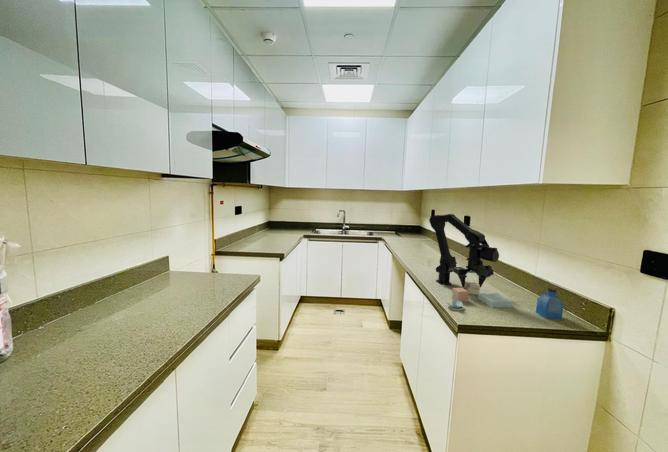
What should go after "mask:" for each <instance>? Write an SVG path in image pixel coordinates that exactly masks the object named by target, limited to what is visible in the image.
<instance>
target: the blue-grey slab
mask: <svg viewBox="0 0 668 452" xmlns="http://www.w3.org/2000/svg"><path fill="white" fill-rule="evenodd" d="M477 299H478V300H479V301H481V302H482V303H484V304H486V305H487V306H490V307H491V308H513V306H514V301H513V300H511V299H509V298H508V297H505V296H503V295H501V294H499V293H497V292H496V293H495V292H492V293H491V292H490V293H487V292H486V293H480V292H479V293H478V294H477Z"/></svg>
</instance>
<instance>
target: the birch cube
mask: <svg viewBox="0 0 668 452" xmlns="http://www.w3.org/2000/svg"><path fill="white" fill-rule="evenodd" d="M463 288H464V289H465V290H467V291H469V293H468V295H478V293H480V288H481V287H480V285H479V283H478V282H475V281H465V286H464V287H463Z"/></svg>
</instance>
